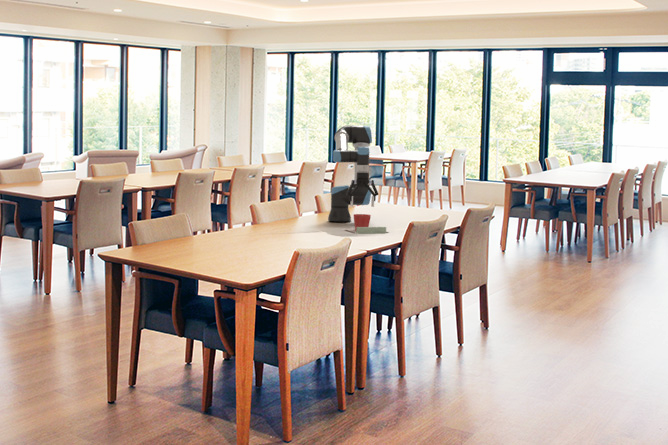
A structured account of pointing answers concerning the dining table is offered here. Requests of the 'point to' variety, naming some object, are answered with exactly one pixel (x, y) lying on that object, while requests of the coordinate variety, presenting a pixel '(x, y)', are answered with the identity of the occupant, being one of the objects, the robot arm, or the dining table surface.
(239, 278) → the dining table surface
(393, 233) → the dining table surface
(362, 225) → the flower pot
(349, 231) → the guide strips
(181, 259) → the dining table surface
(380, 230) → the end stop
